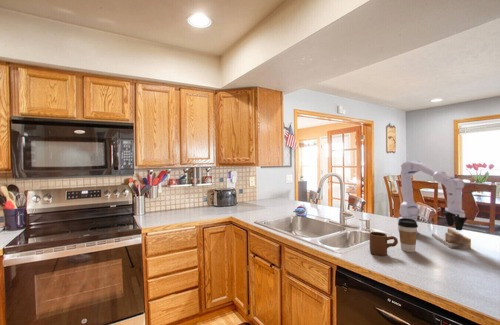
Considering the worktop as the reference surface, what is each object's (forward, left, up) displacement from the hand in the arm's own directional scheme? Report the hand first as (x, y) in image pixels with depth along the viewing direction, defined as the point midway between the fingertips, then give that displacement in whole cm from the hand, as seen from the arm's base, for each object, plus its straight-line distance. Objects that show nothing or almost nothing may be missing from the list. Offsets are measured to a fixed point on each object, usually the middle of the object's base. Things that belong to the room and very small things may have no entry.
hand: (454, 227), depth 125 cm
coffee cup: (-25, -12, -9) cm, 30 cm away
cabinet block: (0, 0, -9) cm, 9 cm away
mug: (-38, -20, -9) cm, 44 cm away
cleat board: (+1, +5, -9) cm, 10 cm away
